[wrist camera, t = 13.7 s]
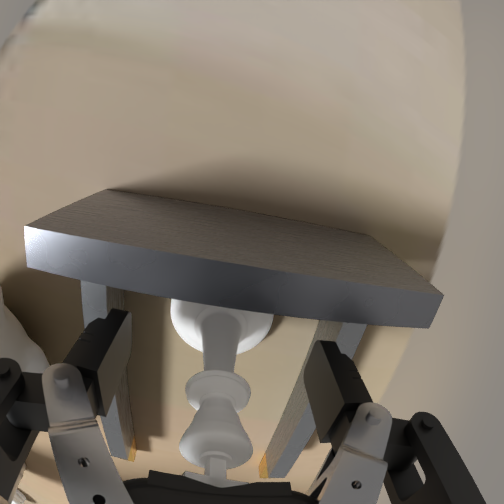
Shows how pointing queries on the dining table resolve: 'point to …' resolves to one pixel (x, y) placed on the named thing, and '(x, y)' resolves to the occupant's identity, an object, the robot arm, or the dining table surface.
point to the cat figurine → (19, 343)
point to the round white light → (18, 498)
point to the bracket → (228, 282)
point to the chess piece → (217, 386)
